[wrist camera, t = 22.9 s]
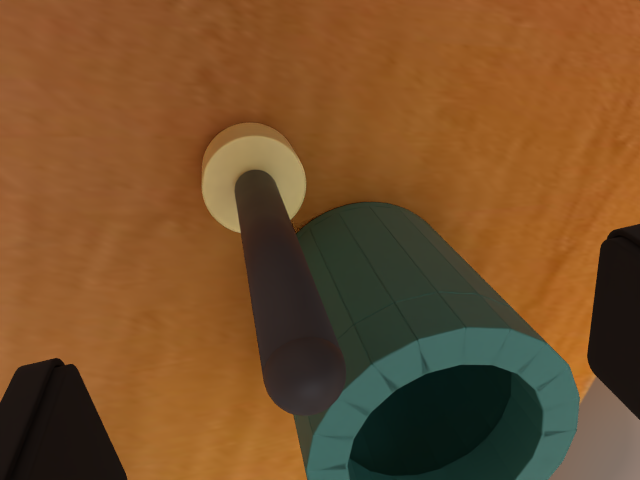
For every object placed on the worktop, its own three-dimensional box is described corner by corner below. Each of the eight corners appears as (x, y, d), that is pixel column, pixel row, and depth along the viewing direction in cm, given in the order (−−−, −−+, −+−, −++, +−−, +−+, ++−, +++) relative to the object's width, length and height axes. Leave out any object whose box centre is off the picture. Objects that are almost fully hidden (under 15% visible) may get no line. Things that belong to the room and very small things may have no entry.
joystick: (190, 132, 26) (169, 336, 10) (287, 113, 27) (410, 278, 11) (214, 222, 29) (227, 505, 13) (304, 202, 29) (425, 450, 13)
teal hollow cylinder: (251, 224, 29) (283, 373, 18) (442, 183, 30) (590, 296, 19) (287, 381, 34) (329, 577, 22) (450, 339, 35) (570, 506, 24)
